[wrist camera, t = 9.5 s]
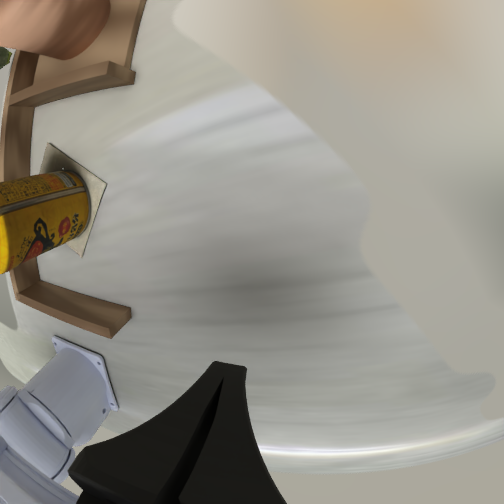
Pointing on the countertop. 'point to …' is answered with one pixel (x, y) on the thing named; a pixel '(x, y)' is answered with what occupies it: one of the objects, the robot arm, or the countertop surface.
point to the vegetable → (4, 57)
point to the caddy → (54, 88)
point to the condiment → (47, 210)
